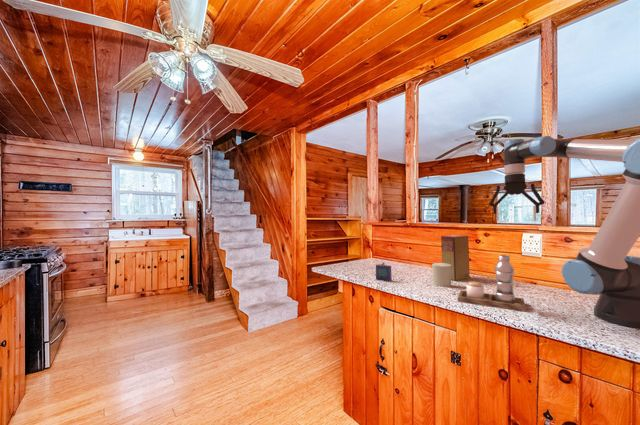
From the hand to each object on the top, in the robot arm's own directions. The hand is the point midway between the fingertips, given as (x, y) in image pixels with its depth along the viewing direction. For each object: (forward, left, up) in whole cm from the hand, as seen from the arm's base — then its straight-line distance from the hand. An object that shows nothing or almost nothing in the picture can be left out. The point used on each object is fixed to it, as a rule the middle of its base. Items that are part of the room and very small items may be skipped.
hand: (515, 220), depth 121 cm
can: (+32, -2, -35) cm, 47 cm away
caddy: (+10, +17, -35) cm, 40 cm away
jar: (+16, +17, -34) cm, 41 cm away
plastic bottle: (+5, +17, -34) cm, 38 cm away
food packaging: (+28, -24, -35) cm, 51 cm away
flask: (+63, +1, -35) cm, 72 cm away
